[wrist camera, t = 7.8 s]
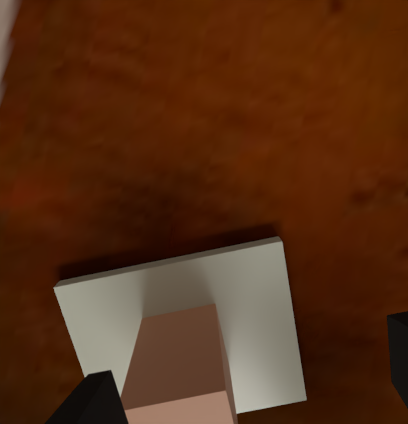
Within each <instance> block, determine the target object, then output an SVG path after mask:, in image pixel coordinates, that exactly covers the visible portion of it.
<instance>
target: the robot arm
mask: <svg viewBox="0 0 408 424" xmlns="http://www.w3.org/2000/svg"><path fill="white" fill-rule="evenodd" d="M387 325H388V338H389V352H390V365H391V379H392V383H393V385H394V386H395V388H396V390H397V391H398V393H399V395H400V396H401V398H402V400H403V401H404V403H405V405H406V406H407V408H408V311H406V312H401V313H396V314H391V315H387ZM45 424H129V423H128V420H127V417H126V414H125V411H124V408H123V404H122V401H121V398H120V395H119V392H118V389H117V386H116V383H115V380H114V377H113V374H112V371H111V370H107V371H102V372H96V373H91V374H88V375H87V376H86V377H85V378H84V379H83V380H82V381H81V383H80V384H79V385H78V386H77V387H76V388H75V389H74V390H73V392H72V393H71V394H70V395H69V396H68V397H67V398H66V400H65V401H64V402H63V403H62V404H61V405H60V407H59V408H58V409H57V410H56V411H55V412H54V414H53V415H52V416H51V417H50V418H49V419H48V420H47V422H46V423H45Z"/></svg>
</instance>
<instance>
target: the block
mask: <svg viewBox="0 0 408 424" xmlns="http://www.w3.org/2000/svg"><path fill="white" fill-rule="evenodd" d="M120 398H121V401H122V404H123V408H124V411H125V414H126V417H127V420H128V423H129V424H238V421H237V414H236V407H235V401H234V394H233V387H232V380H231V374H230V367H229V362H228V358H227V353H226V349H225V344H224V340H223V335H222V331H221V326H220V322H219V317H218V313H217V308H216V304H210V305H205V306H201V307H196V308H191V309H186V310H181V311H176V312H171V313H166V314H161V315H156V316H151V317H146V318H142V320H141V324H140V328H139V331H138V335H137V339H136V342H135V346H134V350H133V353H132V357H131V361H130V364H129V368H128V371H127V375H126V379H125V382H124V386H123V390H122V393H121V397H120Z"/></svg>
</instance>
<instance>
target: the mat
mask: <svg viewBox="0 0 408 424" xmlns="http://www.w3.org/2000/svg"><path fill="white" fill-rule="evenodd" d="M54 291H55V293H56V296H57V299H58V302H59V305H60V308H61V310H62V313H63V316H64V319H65V322H66V325H67V328H68V330H69V333H70V336H71V339H72V342H73V345H74V347H75V350H76V353H77V356H78V359H79V362H80V365H81V367H82V370H83V373H84V376H85V377H86V376H87V375H88V374H91V373H96V372H102V371H107V370H111V371H112V374H113V377H114V380H115V383H116V386H117V389H118V392H119V395H120V397H121V393H122V390H123V386H124V382H125V379H126V375H127V371H128V368H129V364H130V361H131V357H132V353H133V350H134V346H135V342H136V339H137V335H138V331H139V328H140V324H141V320H142V318H146V317H151V316H156V315H161V314H166V313H171V312H176V311H181V310H186V309H191V308H196V307H201V306H205V305H210V304H216V308H217V313H218V317H219V322H220V326H221V331H222V335H223V340H224V344H225V349H226V353H227V358H228V362H229V367H230V374H231V380H232V387H233V394H234V401H235V407H236V414H237V413H242V412H247V411H252V410H258V409H263V408H268V407H273V406H279V405H284V404H289V403H294V402H299V401H305V400H307V399H306V392H305V386H304V379H303V373H302V366H301V360H300V353H299V347H298V340H297V334H296V327H295V321H294V314H293V308H292V301H291V295H290V288H289V282H288V275H287V269H286V262H285V256H284V249H283V243H282V240H281V239H280V238H279V236H277V237H272V238H267V239H262V240H257V241H252V242H247V243H243V244H238V245H233V246H228V247H223V248H218V249H213V250H208V251H203V252H198V253H193V254H189V255H184V256H179V257H174V258H169V259H164V260H159V261H154V262H149V263H144V264H139V265H135V266H130V267H125V268H120V269H115V270H110V271H105V272H100V273H95V274H90V275H85V276H81V277H76V278H71V279H66V280H61V281H59V282H58V283H57V284H56V285H55V287H54Z"/></svg>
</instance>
